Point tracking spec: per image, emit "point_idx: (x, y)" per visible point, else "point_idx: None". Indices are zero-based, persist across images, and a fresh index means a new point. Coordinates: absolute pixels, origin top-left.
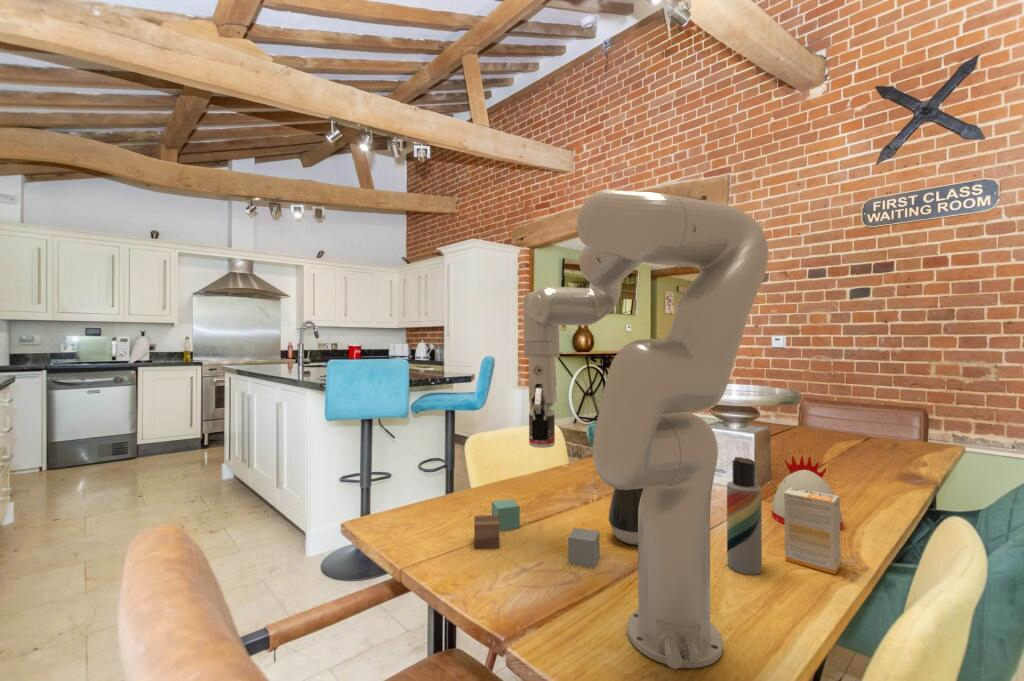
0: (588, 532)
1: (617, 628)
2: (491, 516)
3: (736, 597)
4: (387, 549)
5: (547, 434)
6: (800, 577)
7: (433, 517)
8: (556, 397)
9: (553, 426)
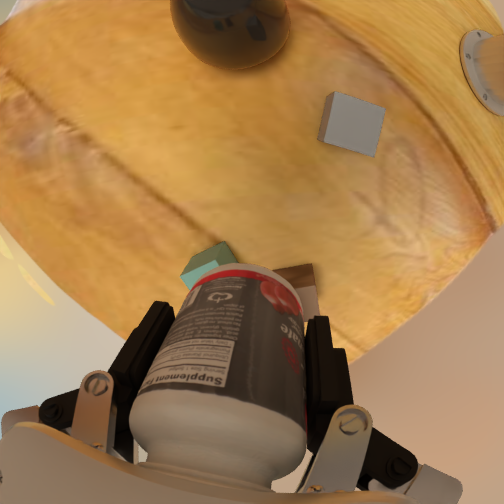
0: (345, 114)
1: (487, 119)
2: None
3: None
4: None
5: (330, 334)
6: None
7: None
8: (20, 439)
9: (255, 334)
